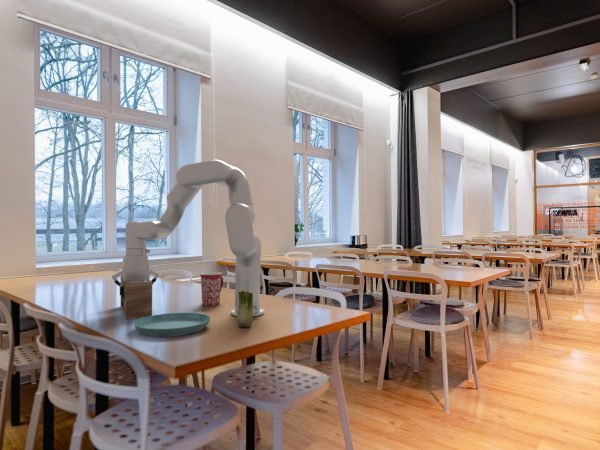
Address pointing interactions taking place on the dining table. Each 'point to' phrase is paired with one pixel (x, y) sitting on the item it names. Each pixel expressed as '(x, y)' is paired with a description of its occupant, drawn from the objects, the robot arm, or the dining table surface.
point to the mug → (211, 288)
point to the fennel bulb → (245, 309)
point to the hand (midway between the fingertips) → (135, 296)
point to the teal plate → (171, 324)
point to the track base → (137, 299)
